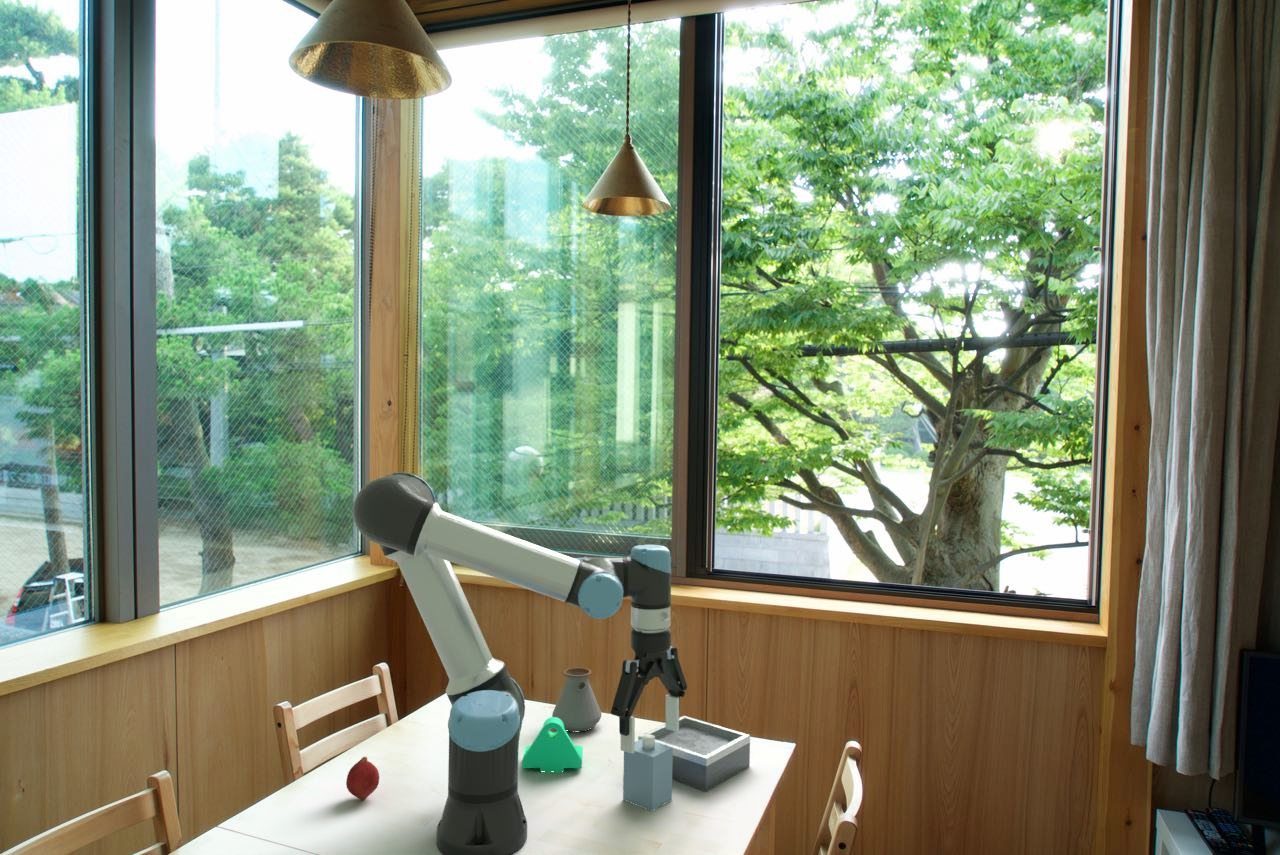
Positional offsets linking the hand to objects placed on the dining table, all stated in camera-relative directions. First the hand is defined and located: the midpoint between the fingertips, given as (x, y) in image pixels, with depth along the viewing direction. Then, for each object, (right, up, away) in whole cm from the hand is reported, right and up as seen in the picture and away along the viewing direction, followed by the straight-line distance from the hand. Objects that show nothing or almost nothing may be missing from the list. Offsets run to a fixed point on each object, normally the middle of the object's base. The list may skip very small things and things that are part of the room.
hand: (650, 740), depth 156 cm
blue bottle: (-1, -11, 0) cm, 11 cm away
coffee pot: (-16, -11, +32) cm, 37 cm away
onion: (-54, -10, -2) cm, 55 cm away
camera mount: (-20, -11, +15) cm, 28 cm away
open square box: (+9, -11, +15) cm, 21 cm away
